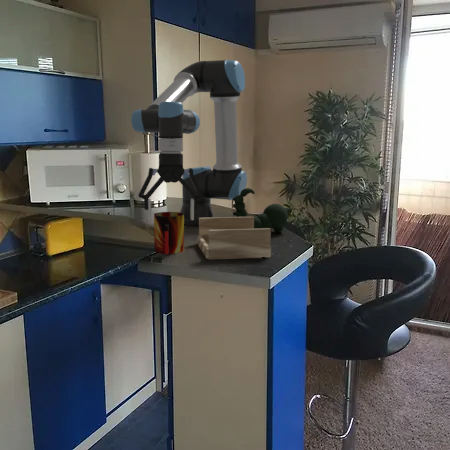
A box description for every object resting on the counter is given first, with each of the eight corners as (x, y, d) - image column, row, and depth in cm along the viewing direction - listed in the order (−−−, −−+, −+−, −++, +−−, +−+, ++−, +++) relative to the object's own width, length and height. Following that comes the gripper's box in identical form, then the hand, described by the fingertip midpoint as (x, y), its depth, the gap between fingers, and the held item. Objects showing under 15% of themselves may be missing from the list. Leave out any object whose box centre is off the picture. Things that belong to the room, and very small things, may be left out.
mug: (165, 258, 162) (165, 219, 159) (150, 248, 174) (149, 212, 171) (194, 254, 166) (194, 217, 164) (177, 245, 178) (176, 211, 176)
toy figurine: (243, 243, 191) (299, 231, 202) (240, 191, 187) (297, 182, 198) (231, 238, 199) (285, 227, 210) (227, 188, 195) (283, 180, 206)
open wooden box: (197, 243, 182) (197, 217, 180) (254, 241, 186) (255, 216, 184) (207, 259, 160) (207, 230, 159) (271, 257, 164) (272, 228, 163)
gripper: (130, 152, 158) (131, 222, 162) (212, 153, 163) (211, 221, 166) (130, 151, 165) (131, 218, 169) (208, 152, 170) (207, 217, 174)
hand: (170, 219), depth 168 cm, fingers open, 13 cm apart
